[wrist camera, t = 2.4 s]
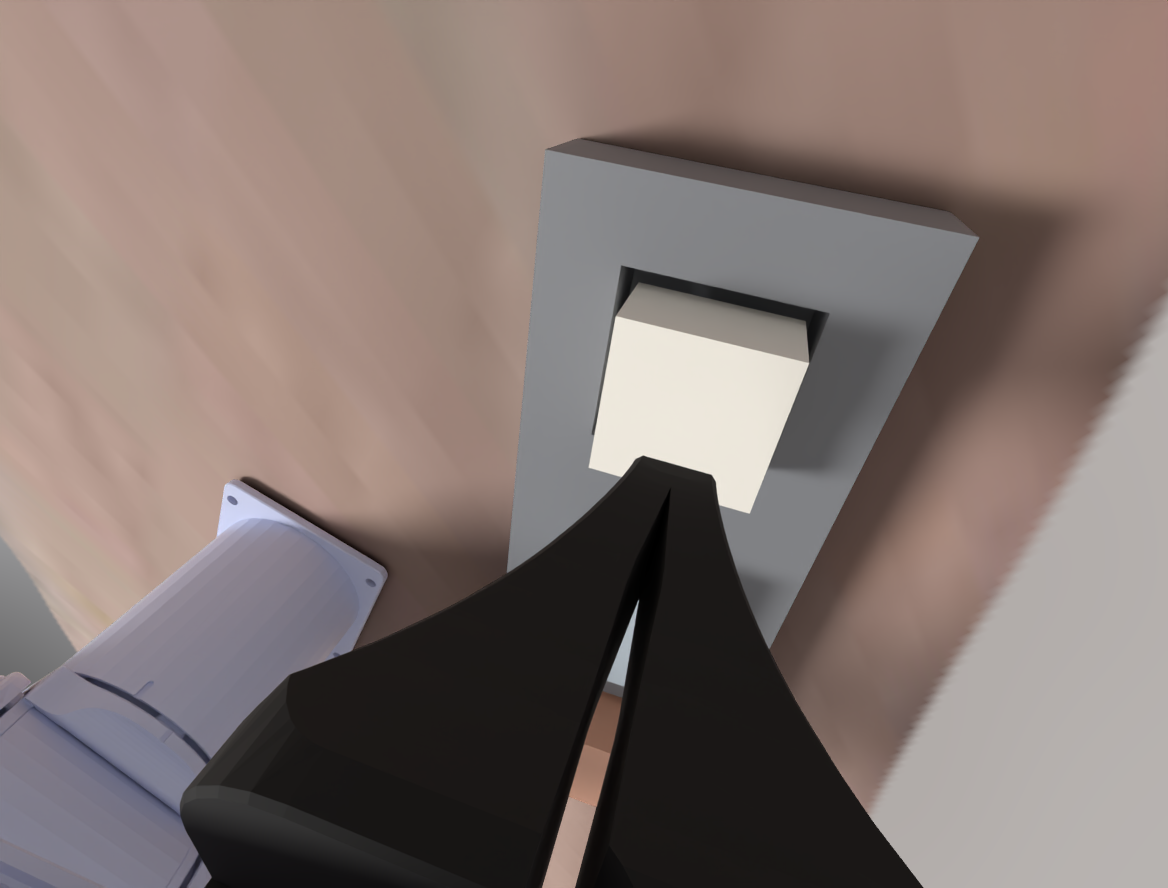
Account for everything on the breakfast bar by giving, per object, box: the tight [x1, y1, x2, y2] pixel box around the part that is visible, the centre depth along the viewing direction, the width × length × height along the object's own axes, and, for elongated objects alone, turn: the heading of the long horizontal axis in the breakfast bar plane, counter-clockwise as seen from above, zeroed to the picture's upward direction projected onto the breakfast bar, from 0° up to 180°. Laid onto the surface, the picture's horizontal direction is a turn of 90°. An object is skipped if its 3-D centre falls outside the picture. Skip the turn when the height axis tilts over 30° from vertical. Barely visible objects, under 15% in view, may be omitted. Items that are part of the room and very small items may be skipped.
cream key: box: [589, 282, 809, 514], centre depth 14 cm, size 4×4×2 cm
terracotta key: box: [569, 691, 622, 807], centre depth 23 cm, size 4×4×2 cm
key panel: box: [507, 139, 979, 698], centre depth 20 cm, size 25×9×2 cm, turn 171°
